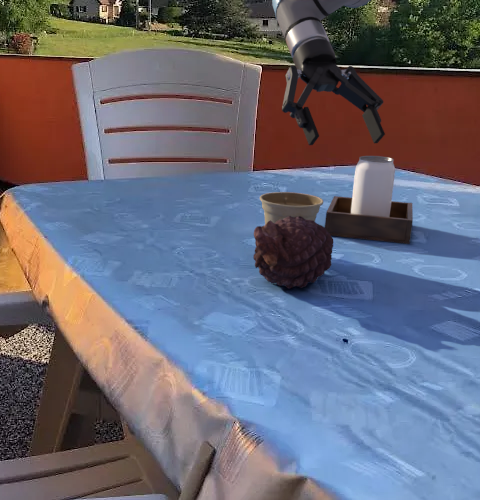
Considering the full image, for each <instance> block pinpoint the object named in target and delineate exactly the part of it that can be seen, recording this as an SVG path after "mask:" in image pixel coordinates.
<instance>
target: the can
mask: <svg viewBox="0 0 480 500" xmlns="http://www.w3.org/2000/svg"><path fill="white" fill-rule="evenodd" d="M394 161H395V159H394V158H392V157H387V156H382V155H381V156H380V155H362V156H361V155H360V156H359V160H358V162H357V164H356V165H355V168H354V178H353V187H352V197H351V198H352V205H351V214H361V215H372V216H382V217H390V209H391V201H393V192H394V186H395V185H394V183H395V175H396V167H395V164H394Z"/></svg>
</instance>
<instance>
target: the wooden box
mask: <svg viewBox="0 0 480 500" xmlns="http://www.w3.org/2000/svg"><path fill="white" fill-rule="evenodd" d="M351 205H352V197H350V196H349V197H348V196H339V195H338V196H336V195H335V196H333V198H332V200H331V201H330V203H329V206H328V208H327V210H326V212H325V223H324V227H325V229H326V230H327V232H329V233H330V235H331V237H339V238H340V237H341V238H350V239H358V240H366V241H367V240H368V241H377V242H387V243H395V244H396V243H397V244H403V245H405V244H406V245H410V244H411V237H412V236H411V235H412V229H413V221H414V217H413V214H414V213H413V202H405V201H396V200H395V201H394V200H392V201H391V209H390V217H382V216H372V215H361V214H351Z"/></svg>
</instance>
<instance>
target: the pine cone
mask: <svg viewBox="0 0 480 500" xmlns="http://www.w3.org/2000/svg"><path fill="white" fill-rule="evenodd" d="M253 238H254V241H255V242H254V244H255V249H254V254H253V260H254V267H255V269H257V268H258V273H259V275H260V276H262V277H263V278H264V279H265V280H267V282H268V283H270V284H276V285H277V286H278V287H281V286H284V287H286V288H287V289H288V290H290V289H294V288H295V287H298V288H299V289H302V288H305V287H307V285H308V284H315V283H316V282H317V280H318V278H320V277H321V276H323V275H324V274H325V272H327V271H328V270H329V269H331V267H332V264H333V263H332V260H333V258H332V257H333V255H332V254H333V248H334V238H333V236H331V235H330V233H329V232H327V230H326V229H325V226H323V225H321V224H319V223H317V222H316V220H315V221H313V220H307V219H304V218H303V217H301V216H298V217H294V218H293V217H291V216H288V217H286V218H284V219H283V220H282V219H280V220H278V221H277V222H276V223H273V222H272V221H271V220H270V221H268V222H267V223H266V224H265V223H264V225H259V226H256V227H254V230H253Z"/></svg>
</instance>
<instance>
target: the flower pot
mask: <svg viewBox="0 0 480 500" xmlns="http://www.w3.org/2000/svg"><path fill="white" fill-rule="evenodd" d="M259 200H260V202H261V207H262V210H263V213H264V215H263V216H264V225H265V224H266V223H267V222H268V221H270V220H271V221H272V222H273V223H276V222H277V221H278V220H280V219H282V220H283V219H284V218H286V217H288V216H291V217H293V218H294V217H298V216H301V217H303V218H304V219H307V220H313V221H315V222H316V219H317V215H318V214H319V212H320V208H321V206H322V205H323V204H324V199H322V197H319V196H316V195H313V194H310V193H303V192H302V193H301V192H293V191H275V192H274V191H273V192H272V191H271V192H266V193H263V194H261V195H260V196H259Z"/></svg>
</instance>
